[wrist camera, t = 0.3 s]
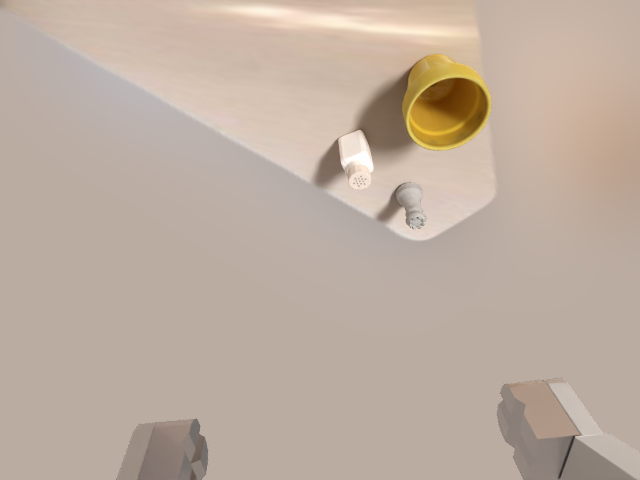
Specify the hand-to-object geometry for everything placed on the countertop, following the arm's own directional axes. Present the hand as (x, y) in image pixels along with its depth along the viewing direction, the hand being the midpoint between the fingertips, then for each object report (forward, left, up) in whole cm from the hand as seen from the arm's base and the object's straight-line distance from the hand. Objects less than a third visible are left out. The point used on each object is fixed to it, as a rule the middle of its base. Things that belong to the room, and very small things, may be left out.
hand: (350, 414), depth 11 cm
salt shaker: (+16, +20, -51) cm, 57 cm away
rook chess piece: (+18, +34, -51) cm, 64 cm away
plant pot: (+2, +22, -51) cm, 56 cm away
